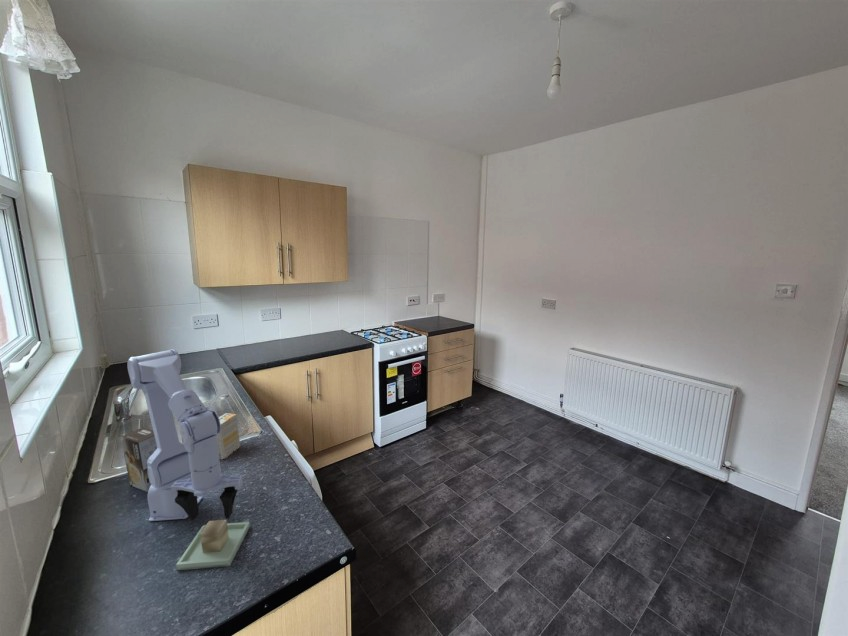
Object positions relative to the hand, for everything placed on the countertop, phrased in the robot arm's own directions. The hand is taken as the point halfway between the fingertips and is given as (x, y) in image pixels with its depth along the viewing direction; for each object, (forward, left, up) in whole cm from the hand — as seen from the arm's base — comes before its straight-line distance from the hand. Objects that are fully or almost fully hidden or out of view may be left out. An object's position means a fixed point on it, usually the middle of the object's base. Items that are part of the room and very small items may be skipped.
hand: (211, 516), depth 81 cm
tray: (0, 0, -8) cm, 8 cm away
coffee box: (-32, +27, -8) cm, 43 cm away
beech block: (0, 0, -8) cm, 8 cm away
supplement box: (-16, +41, -8) cm, 45 cm away
